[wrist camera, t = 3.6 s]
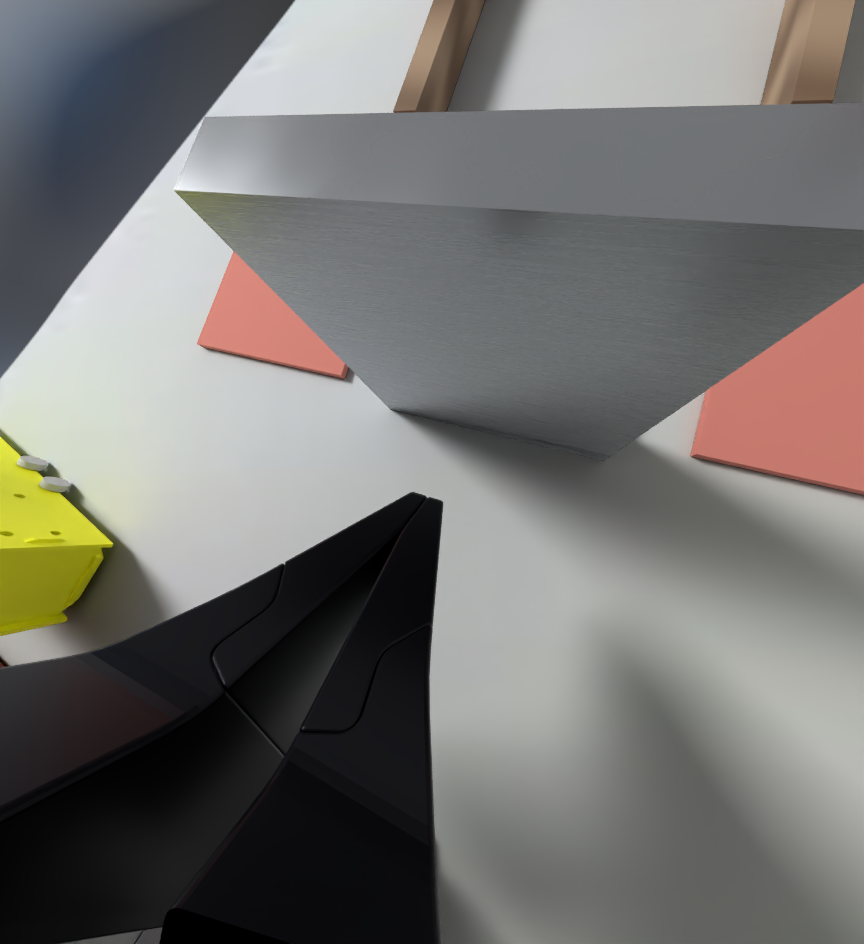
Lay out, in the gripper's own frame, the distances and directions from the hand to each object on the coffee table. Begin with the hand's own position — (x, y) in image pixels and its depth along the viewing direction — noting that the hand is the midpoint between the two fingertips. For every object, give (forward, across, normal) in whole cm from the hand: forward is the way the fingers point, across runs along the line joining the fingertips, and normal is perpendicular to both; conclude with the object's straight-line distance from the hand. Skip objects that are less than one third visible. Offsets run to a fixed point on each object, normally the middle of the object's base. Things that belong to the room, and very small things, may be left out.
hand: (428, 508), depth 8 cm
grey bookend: (+12, 0, -2) cm, 12 cm away
